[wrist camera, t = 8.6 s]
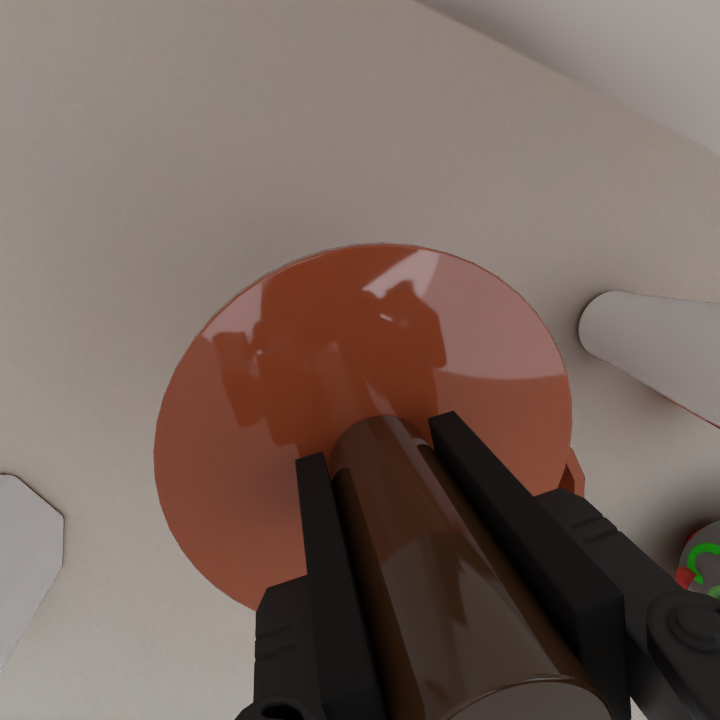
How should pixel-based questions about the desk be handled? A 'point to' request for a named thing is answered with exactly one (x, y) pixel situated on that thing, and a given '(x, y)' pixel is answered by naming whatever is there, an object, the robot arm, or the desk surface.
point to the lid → (380, 465)
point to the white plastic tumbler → (659, 345)
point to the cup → (25, 558)
